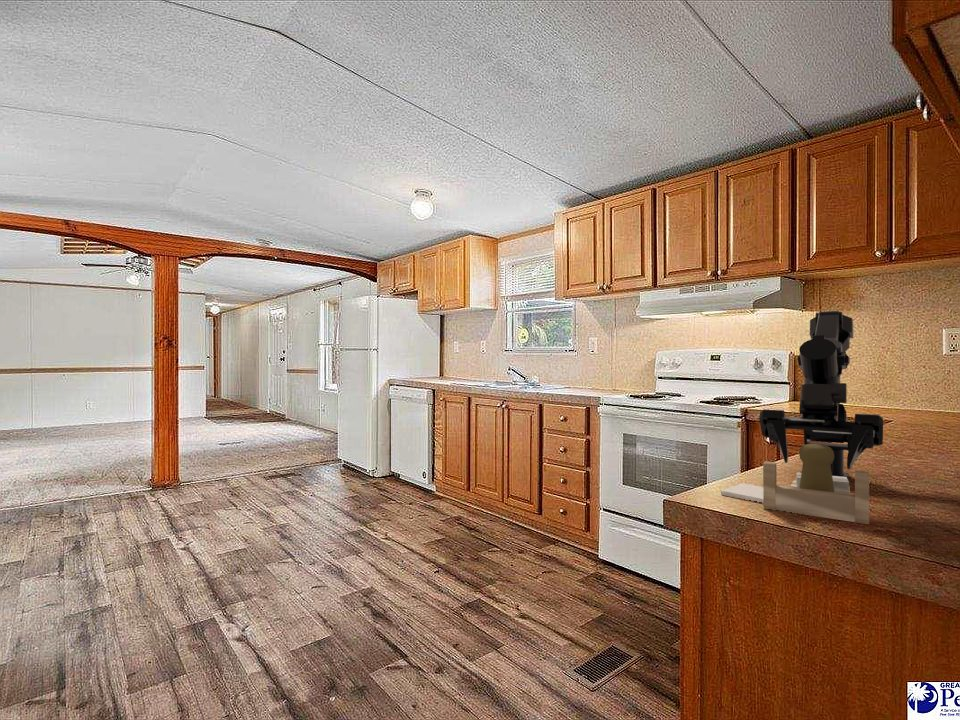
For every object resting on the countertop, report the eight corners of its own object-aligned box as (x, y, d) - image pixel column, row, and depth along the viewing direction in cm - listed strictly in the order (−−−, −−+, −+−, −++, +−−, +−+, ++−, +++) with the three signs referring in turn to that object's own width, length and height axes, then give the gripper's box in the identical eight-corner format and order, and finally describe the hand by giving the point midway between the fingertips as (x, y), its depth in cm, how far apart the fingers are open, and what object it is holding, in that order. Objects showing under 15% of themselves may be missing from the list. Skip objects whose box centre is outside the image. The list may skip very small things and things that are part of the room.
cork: (800, 510, 90) (799, 446, 90) (793, 500, 96) (793, 440, 96) (841, 513, 88) (841, 448, 88) (832, 503, 94) (832, 442, 94)
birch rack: (765, 506, 93) (764, 461, 93) (869, 521, 84) (868, 471, 84) (763, 508, 91) (763, 463, 91) (869, 524, 82) (869, 473, 82)
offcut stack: (793, 490, 103) (793, 471, 103) (849, 497, 97) (849, 477, 97) (790, 496, 98) (790, 476, 98) (848, 504, 93) (848, 483, 93)
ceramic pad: (741, 487, 106) (741, 483, 106) (787, 495, 99) (787, 491, 99) (720, 494, 101) (720, 490, 101) (767, 504, 94) (767, 499, 94)
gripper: (760, 367, 101) (750, 431, 92) (882, 367, 90) (884, 440, 81) (767, 405, 107) (758, 468, 98) (881, 409, 96) (883, 481, 87)
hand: (816, 464), depth 91 cm, fingers open, 9 cm apart
